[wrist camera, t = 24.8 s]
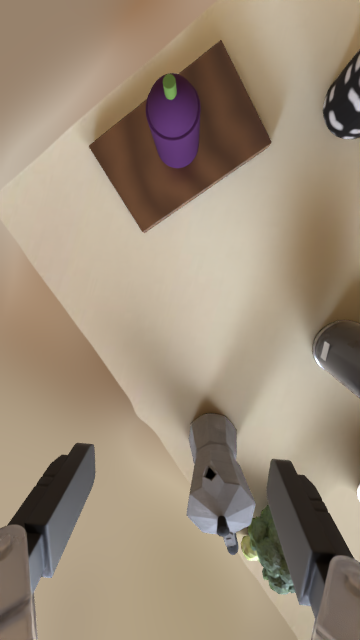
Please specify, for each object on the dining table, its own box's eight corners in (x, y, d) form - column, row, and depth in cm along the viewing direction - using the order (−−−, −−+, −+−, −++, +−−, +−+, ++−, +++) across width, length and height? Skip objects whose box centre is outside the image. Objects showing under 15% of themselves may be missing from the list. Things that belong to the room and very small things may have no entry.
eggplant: (200, 120, 34) (204, 41, 22) (197, 169, 36) (199, 120, 23) (157, 119, 34) (137, 40, 22) (156, 167, 36) (136, 118, 23)
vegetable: (214, 529, 50) (269, 524, 41) (250, 498, 59) (302, 487, 49) (245, 607, 45) (316, 622, 36) (279, 560, 53) (344, 562, 44)
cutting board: (219, 49, 33) (221, 39, 32) (268, 147, 36) (271, 142, 34) (92, 150, 37) (88, 145, 36) (144, 233, 40) (142, 232, 38)
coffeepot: (179, 408, 47) (170, 497, 29) (228, 397, 46) (250, 483, 28) (200, 474, 50) (203, 590, 32) (246, 465, 49) (276, 580, 31)
